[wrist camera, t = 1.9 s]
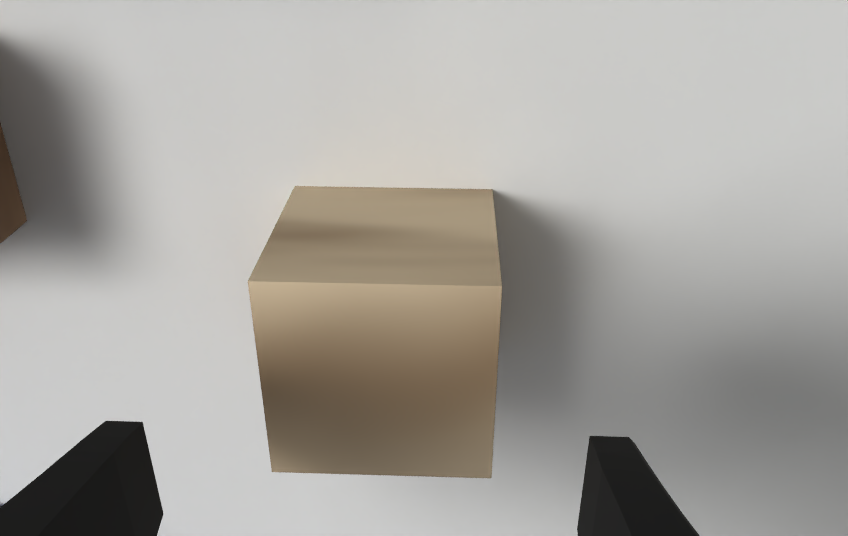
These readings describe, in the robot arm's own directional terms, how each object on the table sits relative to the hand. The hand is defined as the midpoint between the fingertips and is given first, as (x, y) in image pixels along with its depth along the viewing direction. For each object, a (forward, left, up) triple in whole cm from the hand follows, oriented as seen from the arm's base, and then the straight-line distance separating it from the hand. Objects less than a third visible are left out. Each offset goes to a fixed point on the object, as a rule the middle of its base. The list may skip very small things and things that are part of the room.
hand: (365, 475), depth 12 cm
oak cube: (0, 0, -7) cm, 7 cm away
